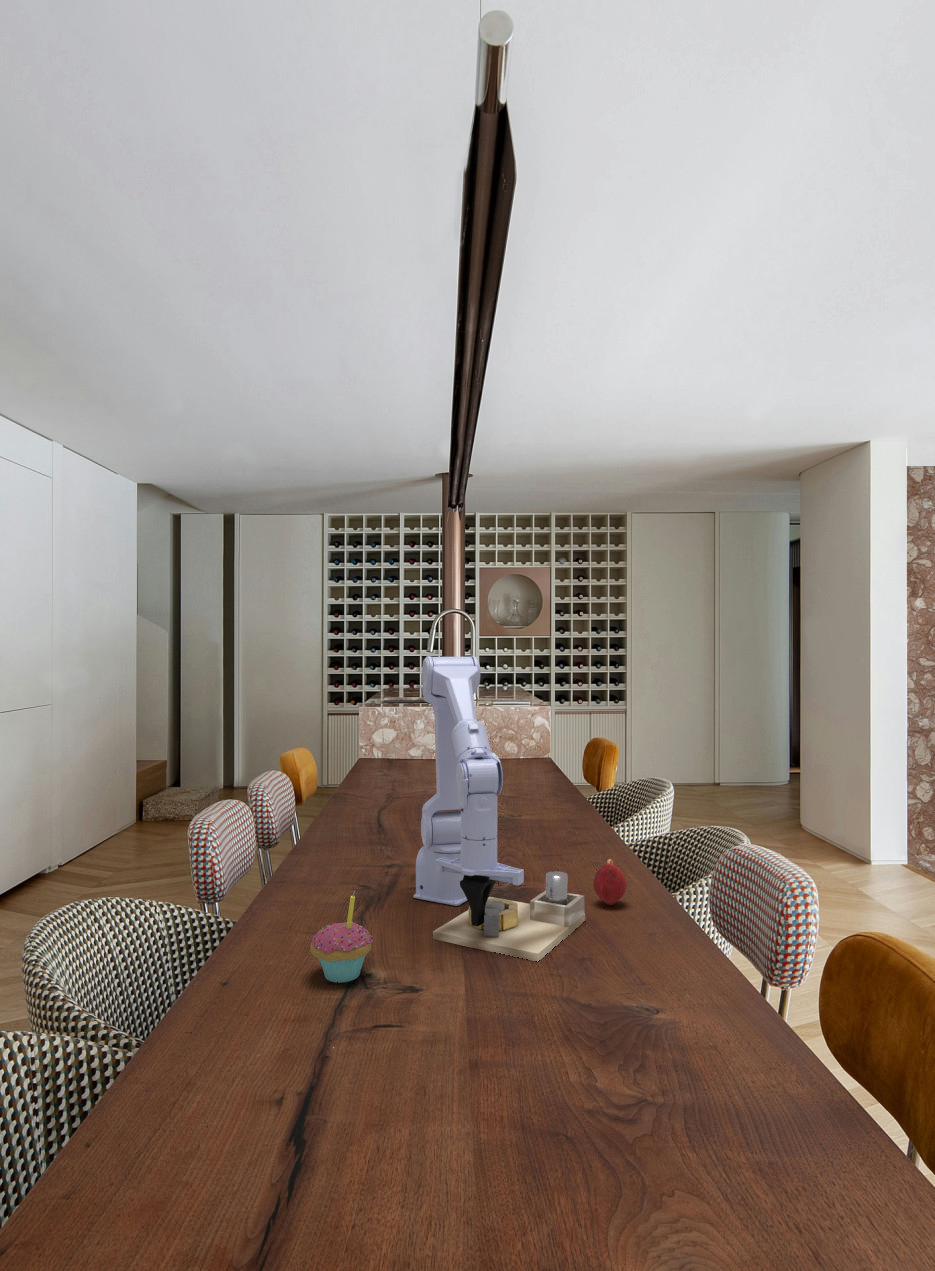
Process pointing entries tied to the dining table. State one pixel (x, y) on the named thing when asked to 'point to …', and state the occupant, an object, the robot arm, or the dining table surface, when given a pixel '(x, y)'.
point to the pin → (557, 887)
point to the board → (520, 928)
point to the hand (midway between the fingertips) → (478, 924)
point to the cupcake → (342, 948)
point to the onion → (609, 883)
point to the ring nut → (498, 918)
